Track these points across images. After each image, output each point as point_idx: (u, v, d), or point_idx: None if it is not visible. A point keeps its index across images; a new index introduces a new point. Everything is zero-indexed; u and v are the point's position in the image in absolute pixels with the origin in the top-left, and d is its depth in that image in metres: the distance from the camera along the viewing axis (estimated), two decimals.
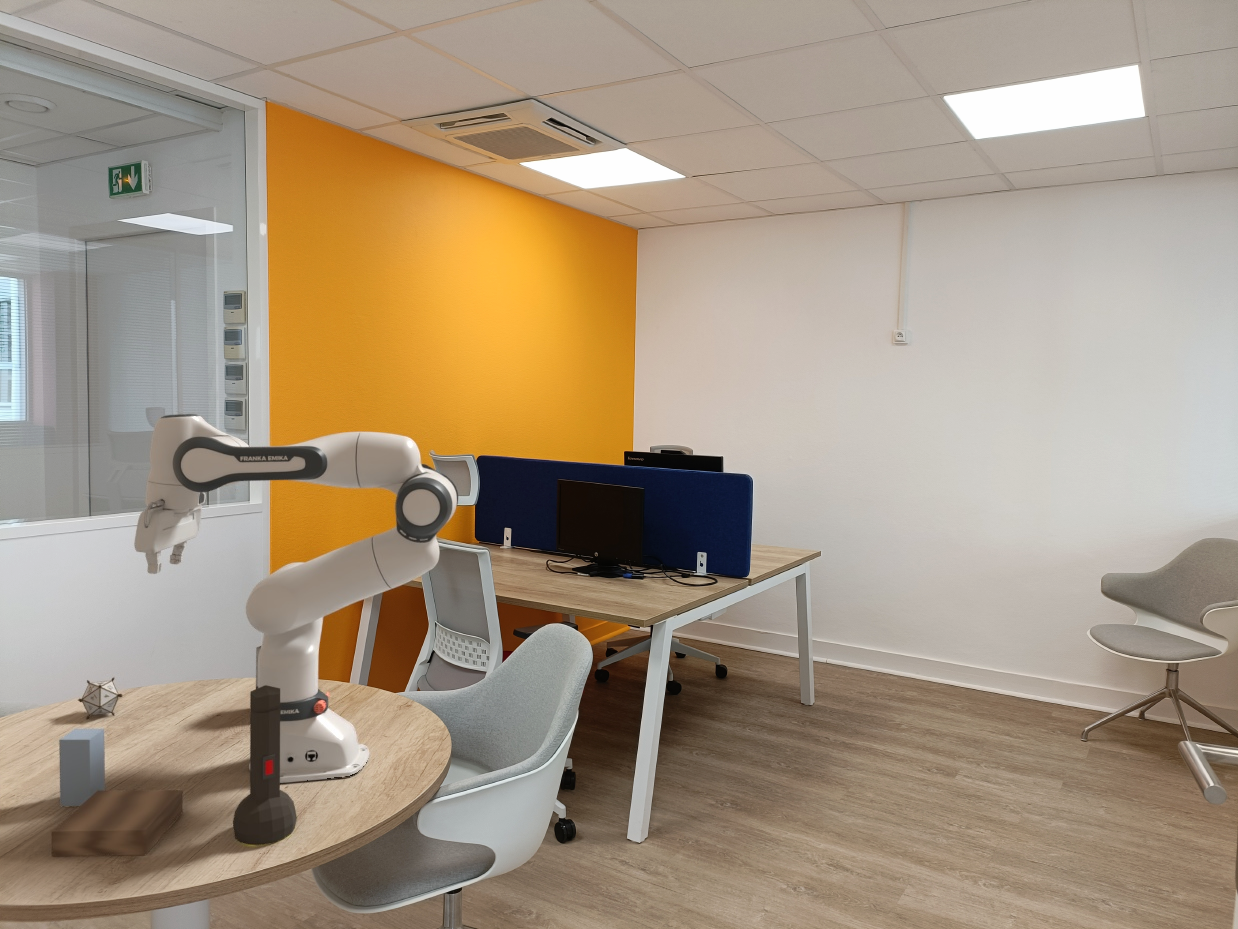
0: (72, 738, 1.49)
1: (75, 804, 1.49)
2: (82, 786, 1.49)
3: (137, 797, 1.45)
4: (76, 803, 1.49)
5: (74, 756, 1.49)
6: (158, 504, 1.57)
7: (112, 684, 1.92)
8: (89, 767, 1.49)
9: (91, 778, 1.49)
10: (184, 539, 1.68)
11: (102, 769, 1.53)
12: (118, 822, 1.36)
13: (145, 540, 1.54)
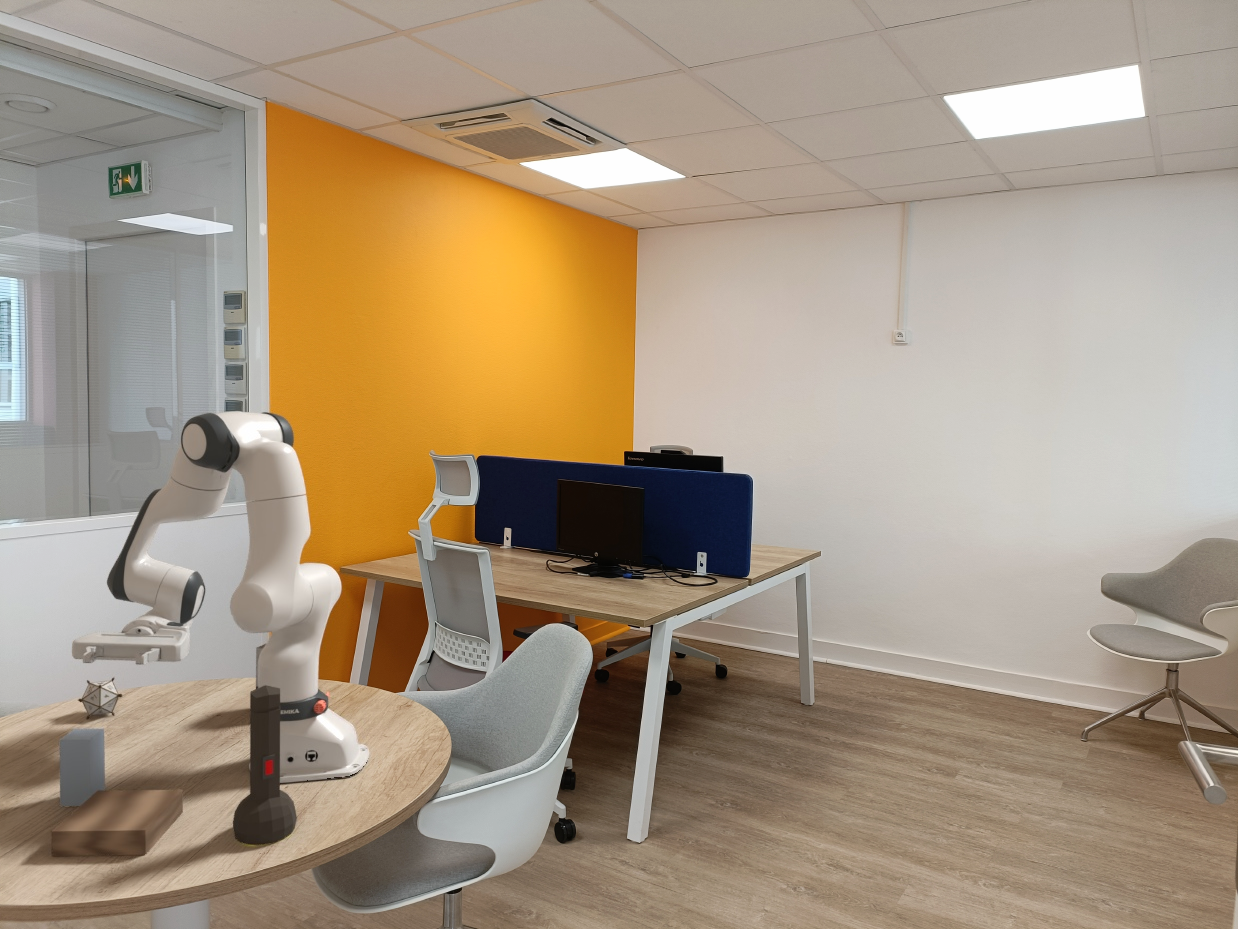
0: (72, 738, 1.49)
1: (75, 804, 1.49)
2: (82, 786, 1.49)
3: (137, 797, 1.45)
4: (76, 803, 1.49)
5: (74, 756, 1.49)
6: None
7: (112, 684, 1.92)
8: (89, 767, 1.49)
9: (91, 778, 1.49)
10: (144, 642, 1.67)
11: (102, 769, 1.53)
12: (118, 822, 1.36)
13: None
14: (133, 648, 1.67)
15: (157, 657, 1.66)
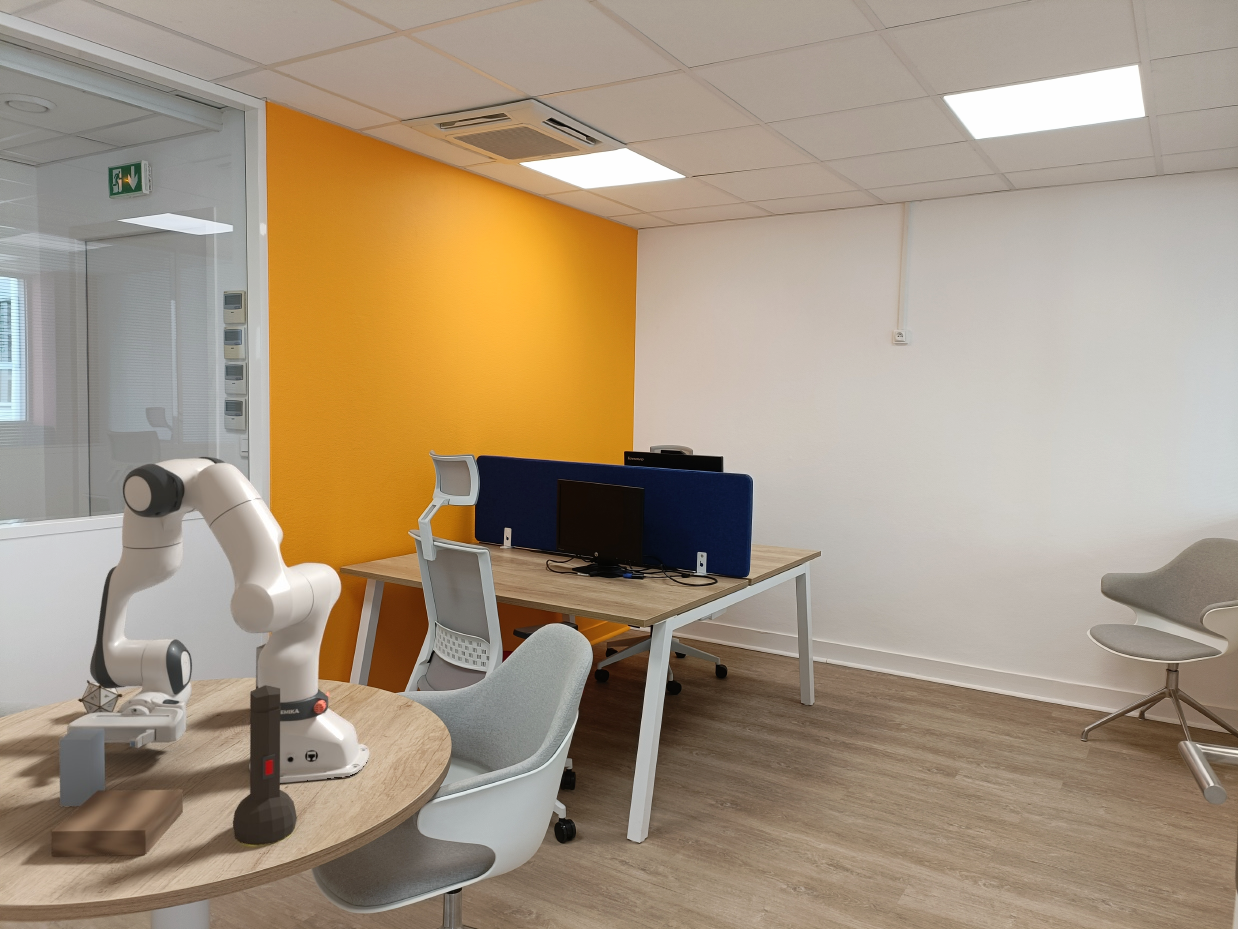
0: (72, 738, 1.49)
1: (75, 804, 1.49)
2: (82, 786, 1.49)
3: (137, 797, 1.45)
4: (76, 803, 1.49)
5: (74, 756, 1.49)
6: None
7: None
8: (88, 767, 1.49)
9: (91, 778, 1.49)
10: (139, 723, 1.65)
11: (102, 769, 1.53)
12: (118, 822, 1.36)
13: None
14: (128, 730, 1.65)
15: (152, 739, 1.64)
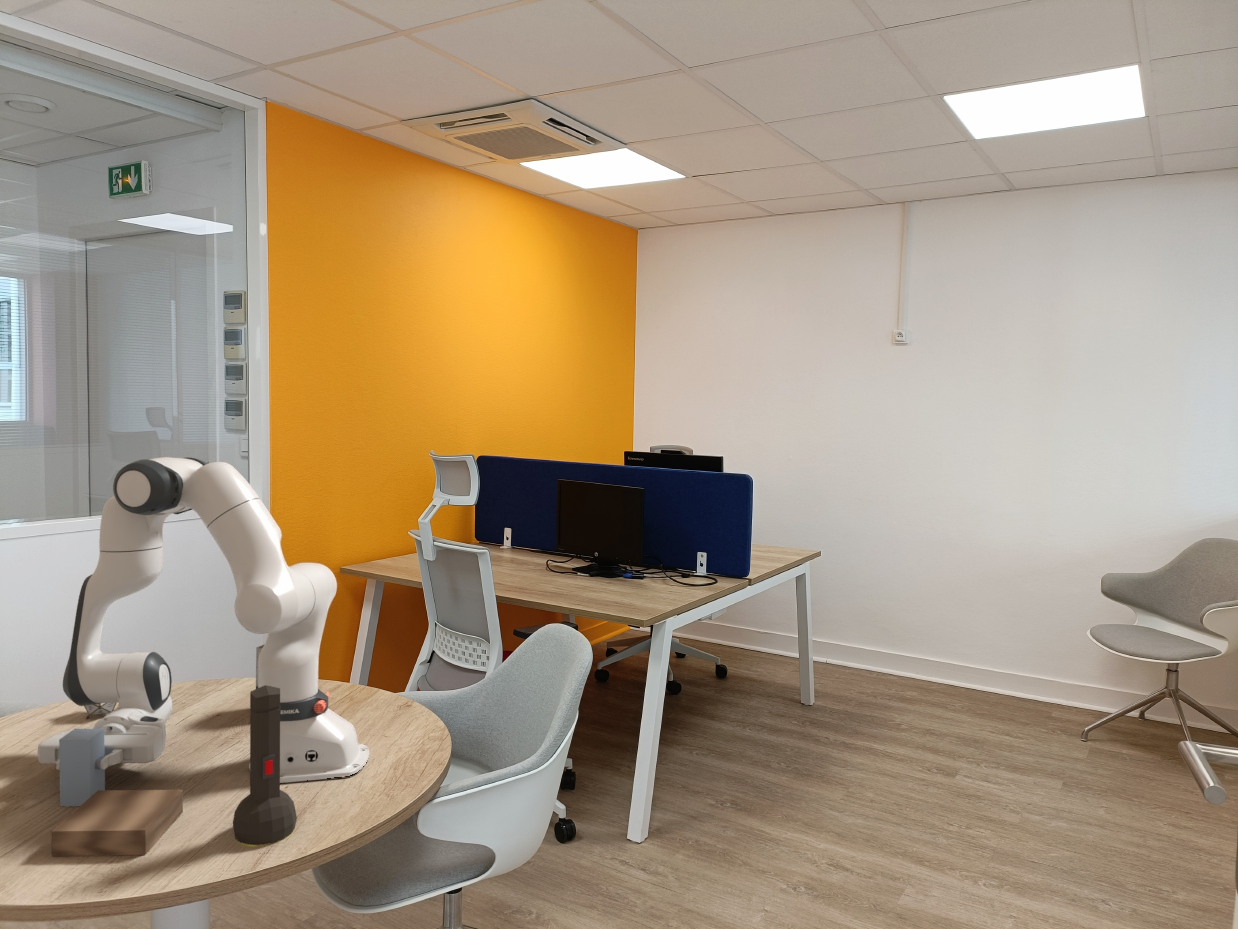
0: (72, 738, 1.49)
1: (75, 804, 1.49)
2: (82, 785, 1.49)
3: (137, 797, 1.45)
4: (76, 803, 1.49)
5: (74, 756, 1.49)
6: None
7: None
8: (89, 767, 1.49)
9: (91, 777, 1.49)
10: (114, 743, 1.56)
11: (102, 769, 1.53)
12: (118, 822, 1.36)
13: None
14: None
15: (119, 759, 1.54)
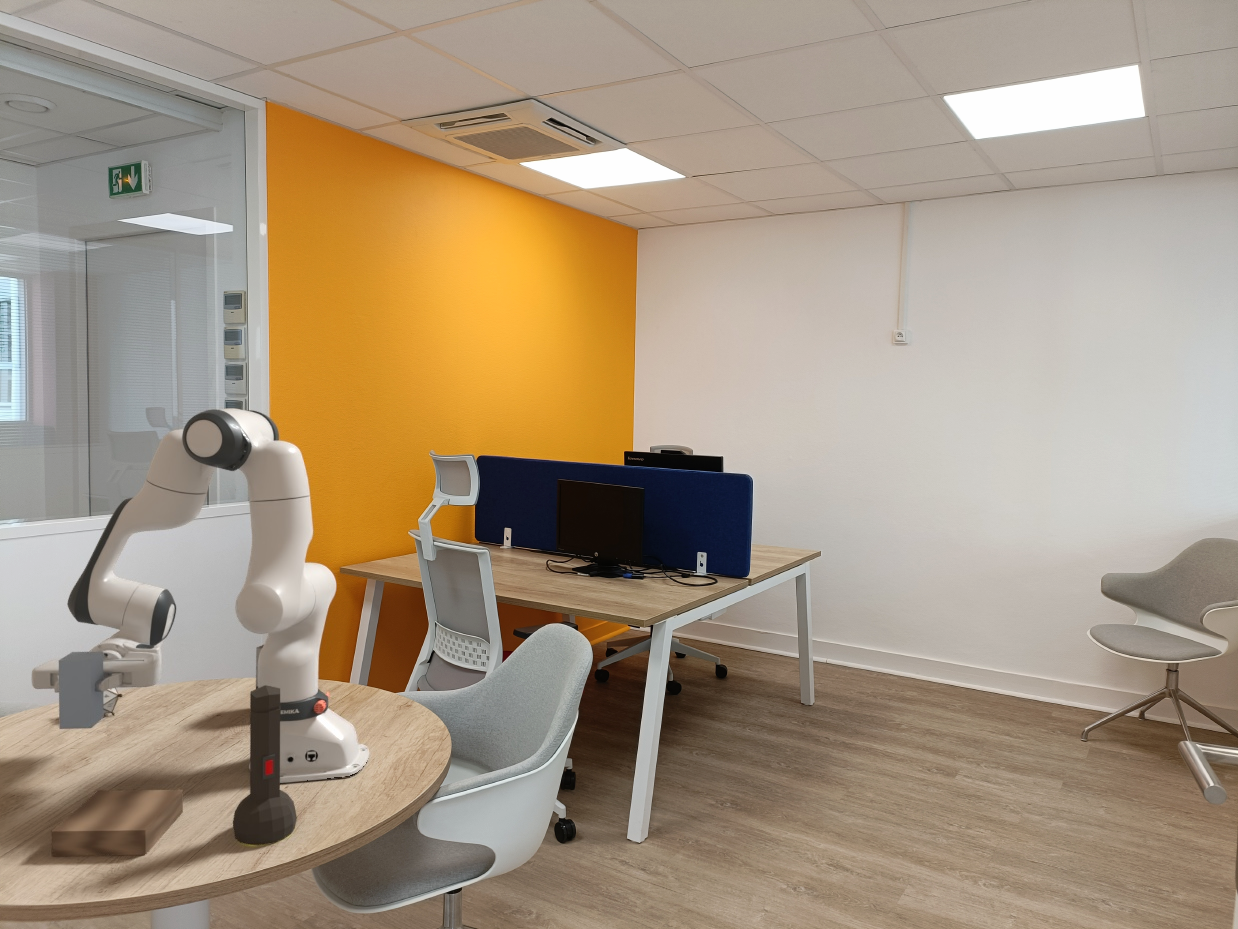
0: (72, 659, 1.47)
1: (75, 726, 1.47)
2: (83, 707, 1.47)
3: (137, 797, 1.45)
4: (76, 725, 1.47)
5: (74, 677, 1.46)
6: None
7: None
8: (89, 689, 1.47)
9: (91, 699, 1.47)
10: (113, 667, 1.54)
11: (101, 692, 1.51)
12: (118, 822, 1.36)
13: None
14: None
15: (118, 683, 1.53)
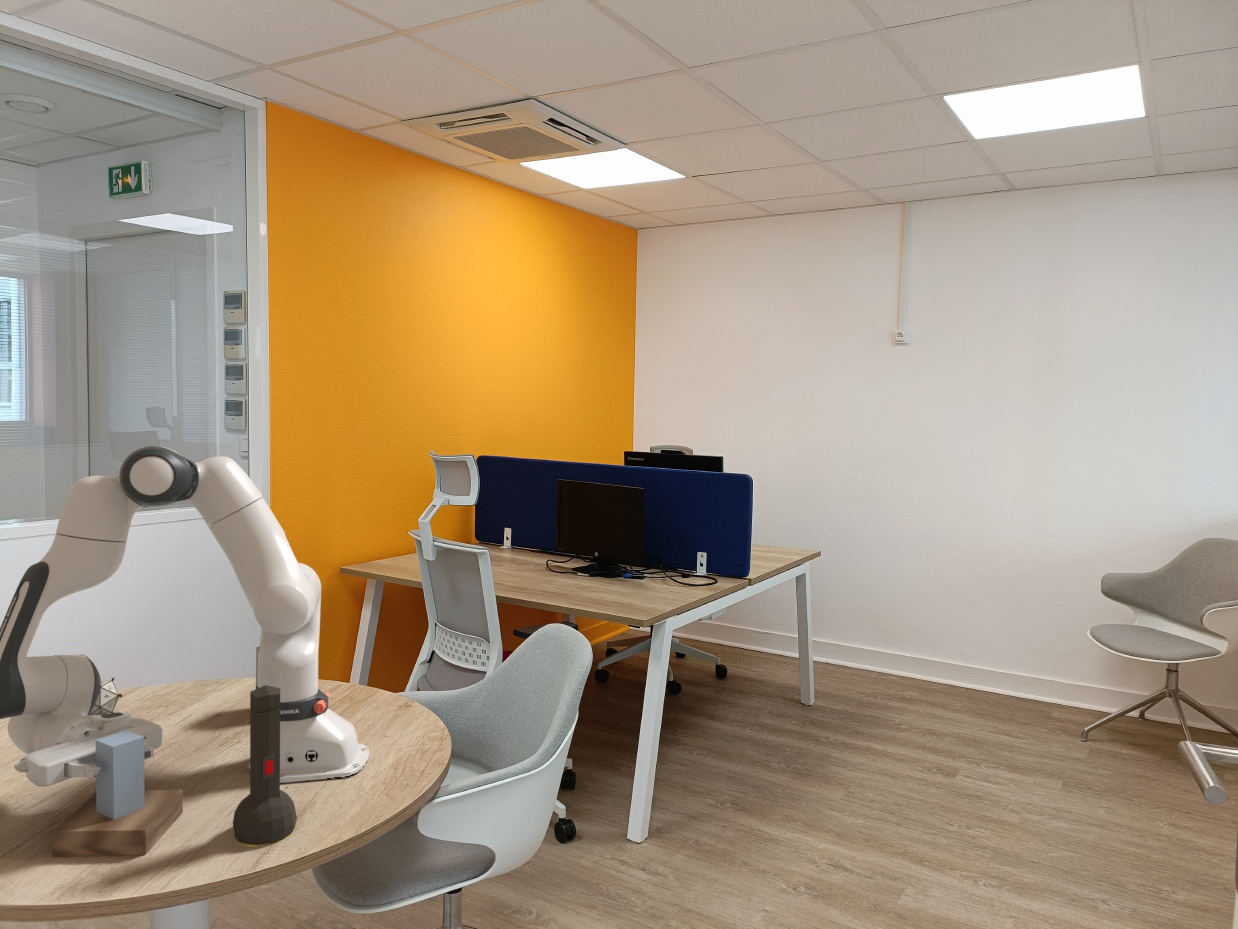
0: (123, 742, 1.38)
1: (129, 811, 1.39)
2: (137, 788, 1.40)
3: None
4: (130, 809, 1.39)
5: (128, 759, 1.39)
6: None
7: (112, 684, 1.92)
8: (143, 767, 1.41)
9: (143, 777, 1.41)
10: None
11: None
12: (118, 822, 1.36)
13: (33, 773, 1.34)
14: None
15: None
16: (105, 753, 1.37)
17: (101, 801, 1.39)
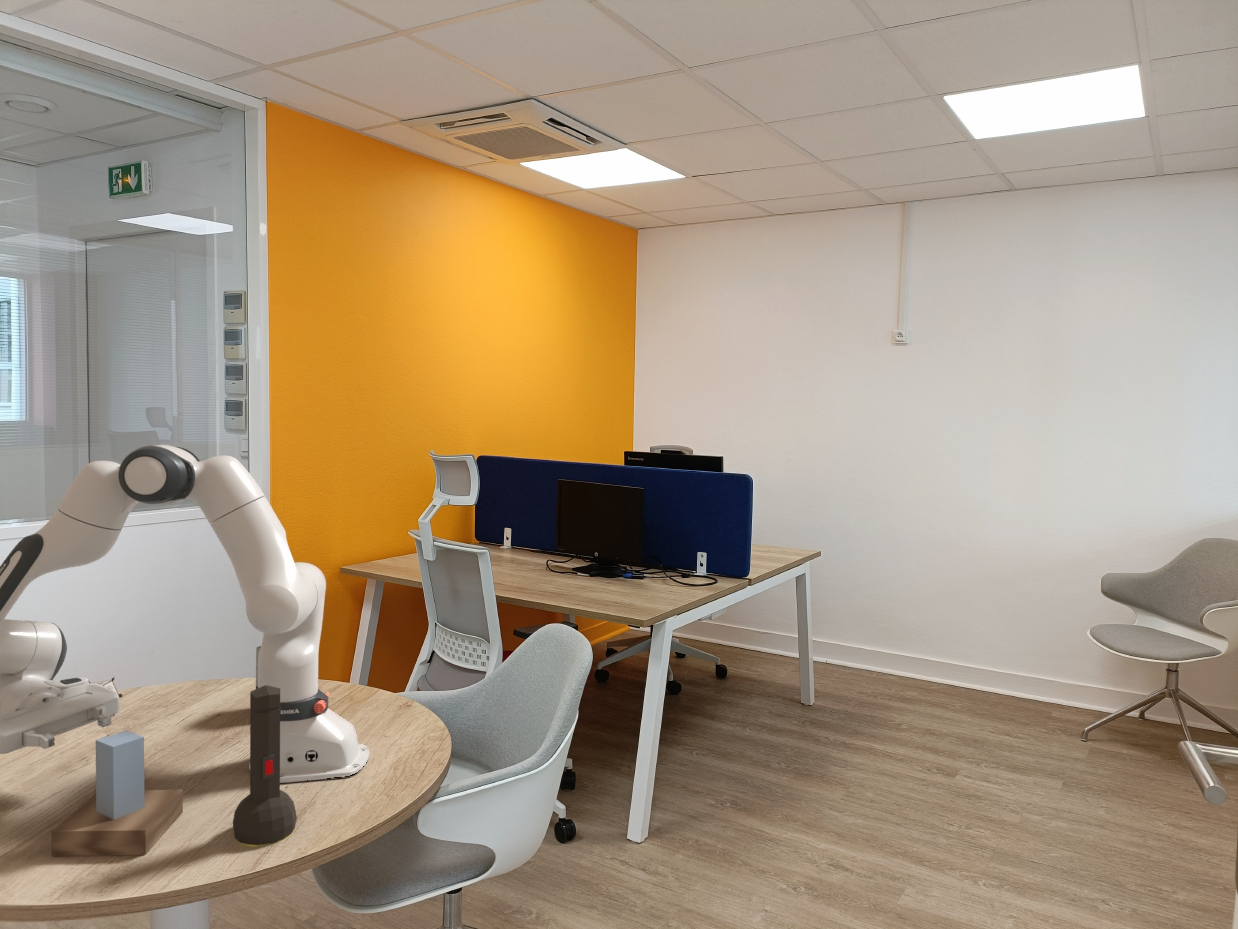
0: (123, 742, 1.38)
1: (129, 811, 1.39)
2: (137, 788, 1.40)
3: None
4: (130, 809, 1.39)
5: (128, 759, 1.39)
6: None
7: (112, 684, 1.92)
8: (143, 767, 1.41)
9: (143, 777, 1.41)
10: (81, 706, 1.51)
11: None
12: (118, 822, 1.36)
13: None
14: (69, 716, 1.50)
15: None
16: (105, 753, 1.37)
17: (101, 801, 1.39)
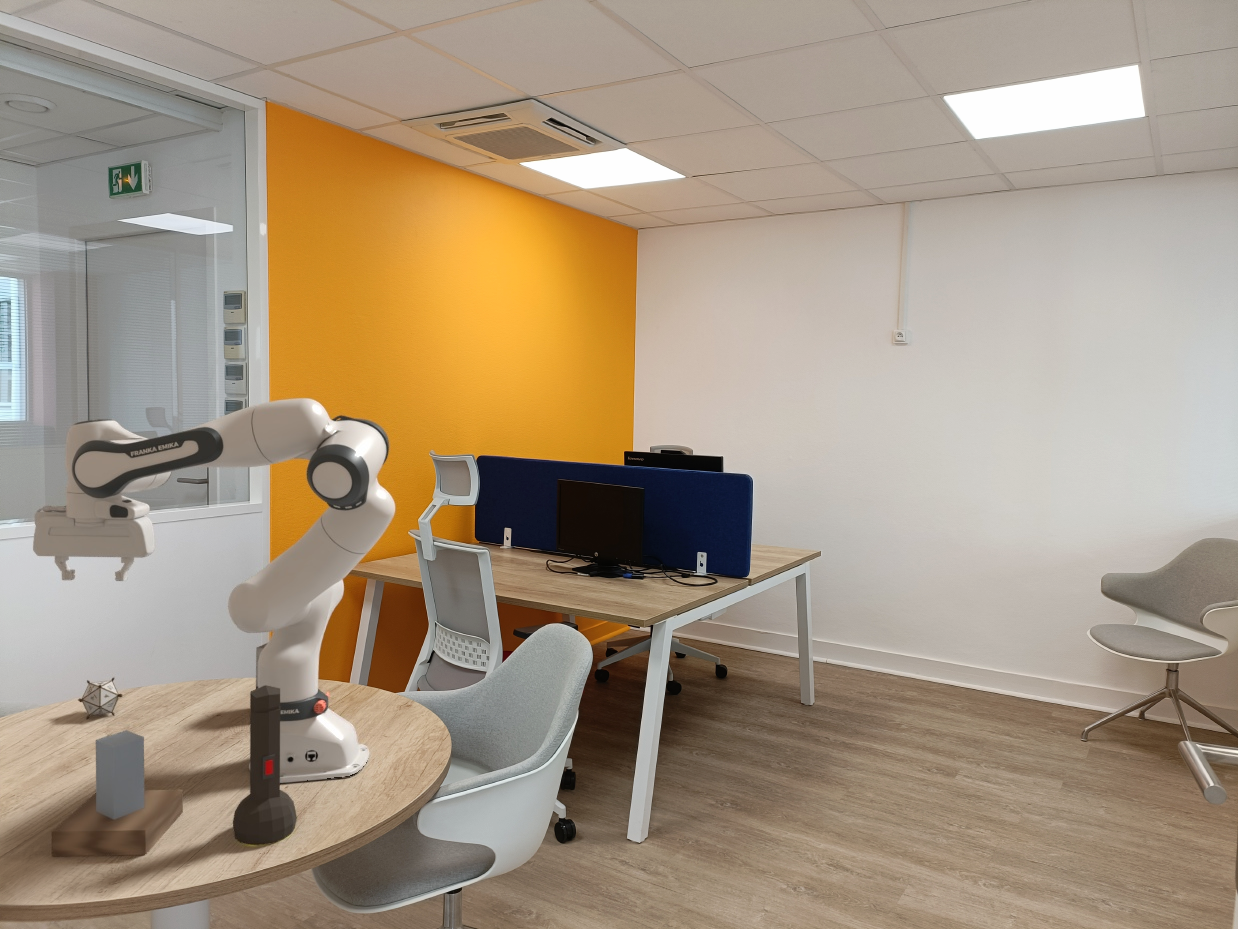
0: (123, 742, 1.38)
1: (129, 811, 1.39)
2: (137, 788, 1.40)
3: None
4: (130, 809, 1.39)
5: (128, 759, 1.39)
6: (54, 509, 1.58)
7: (112, 684, 1.92)
8: (143, 767, 1.41)
9: (143, 777, 1.41)
10: (108, 553, 1.58)
11: None
12: (118, 822, 1.36)
13: None
14: None
15: (132, 561, 1.60)
16: (105, 753, 1.37)
17: (101, 801, 1.39)
